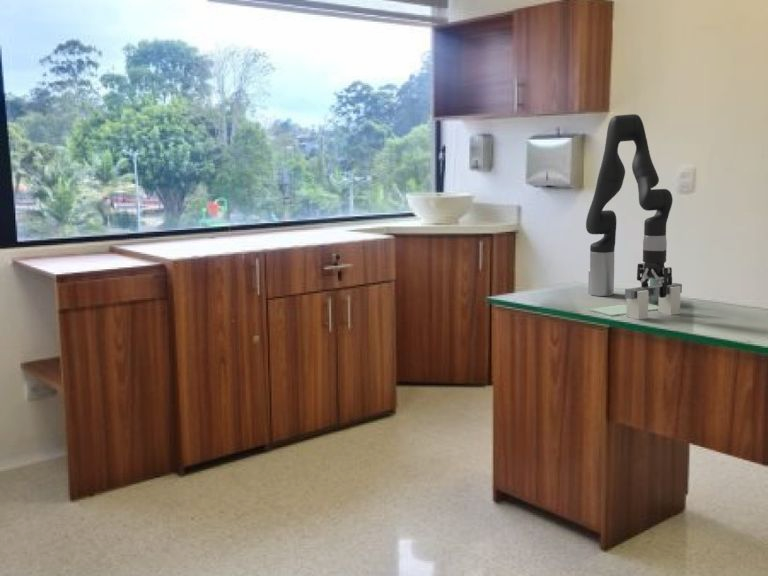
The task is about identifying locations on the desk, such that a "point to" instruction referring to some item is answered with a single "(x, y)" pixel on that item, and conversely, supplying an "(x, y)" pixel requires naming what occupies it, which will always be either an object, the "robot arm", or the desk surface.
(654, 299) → the cup
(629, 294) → the bar
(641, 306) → the rack
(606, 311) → the mat
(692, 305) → the desk surface
